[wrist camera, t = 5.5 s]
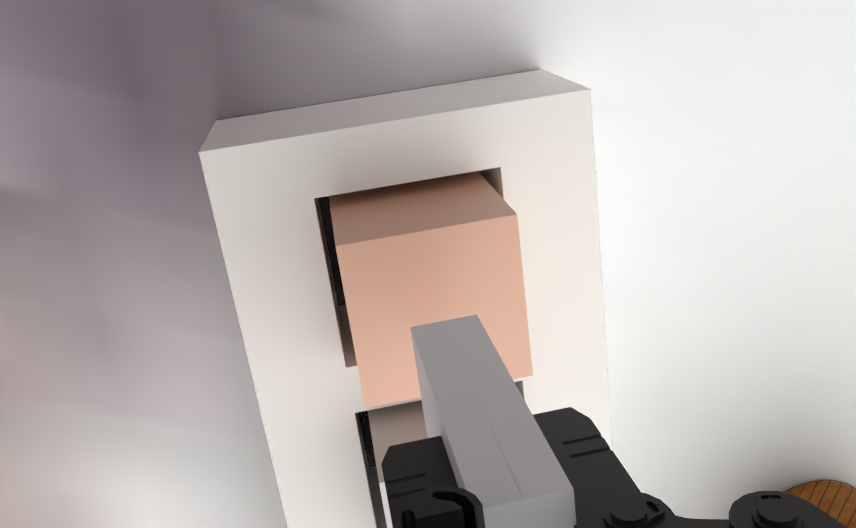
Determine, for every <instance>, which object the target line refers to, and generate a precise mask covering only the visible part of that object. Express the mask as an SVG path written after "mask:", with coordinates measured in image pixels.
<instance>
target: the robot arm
mask: <svg viewBox="0 0 856 528" xmlns="http://www.w3.org/2000/svg"><path fill="white" fill-rule="evenodd" d="M410 329H411V336H412V342H413V349H414V355H415V361H416V368H417V374H418V381H419V387H420V393H421V400H422V406H423V413H424V419H425V425H426V432H427V436H428V438H426V439H422V440H417V441H412V442H407V443H402V444H397V445H393V446H389V448H388V450H387V452H386V454H385V457H384V459H383V461H382V463H381V466H382V472H383V477H384V483H385V488H386V494H387V499H388V504H389V510H390V515H391V521H392V526H393V528H848V527H846V526H845V525H843V524H842V523H840V522H839V521H837V520H836V519H834V518H833V517H831V516H830V515H828V514H827V513H825V512H824V511H822V510H821V509H819V508H818V507H816V506H815V505H813V504H812V503H810V502H808V501H806V500H804V499H802V498H800V497H798V496H796V495H791V494H787V493H783V492H778V491H758V492H754V493H750V494H747V495H744V496H742V497H741V498H739V499H738V500H736V501H735V502H733V504H732V507H731V509H730V511H729V520H720V519H691V518H683V517H679V516H675V515H674V513H673V512H672V510H671V509H670V508H669V507H668V506H667V505H666V504H664V503H663V502H662V501H661V500H660V499H657V498H655V497H653V496H651V495H648V494H646V493H641V492H640V490H639V489H638V488H637V486H636V485H635V483H634V482H633V480H632V479H631V477H630V476H629V474H628V473H627V471H626V470H625V468H624V467H623V466H622V464H621V463H620V461H619V460H618V458H617V457H616V455H615V454H614V452H613V451H612V450H610V446H609V445H608V444H607V442H606V441H605V439H604V438H603V437H602V436H601V433H600V432H599V430H598V429H597V427H596V426H595V424H594V423H593V421H592V420H591V419H590V418H589V417H587V416H585V415H584V414H582V413H580V412H579V411H577V410H575V409H573V408H572V407H568V408H563V409H558V410H553V411H548V412H543V413H538V414H534V415H532V413H531V411H530V410H529V408H528V406H527V404H526V402H525V401H524V399H523V397H522V395H521V393H520V392H519V390H518V388H517V386H516V384H515V383H514V381H513V379H512V377H511V375H510V374H509V372H508V370H507V368H506V366H505V365H504V363H503V361H502V359H501V357H500V356H499V354H498V352H497V350H496V348H495V346H494V345H493V343H492V341H491V339H490V337H489V336H488V334H487V332H486V330H485V328H484V327H483V325H482V323H481V321H480V319H479V318H478V316H477V314H476V315H471V316H466V317H461V318H456V319H450V320H445V321H440V322H435V323H429V324H424V325H419V326H414V327H410Z"/></svg>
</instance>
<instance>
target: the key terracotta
mask: <svg viewBox="0 0 856 528" xmlns="http://www.w3.org/2000/svg"><path fill="white" fill-rule="evenodd" d="M329 203H330V210H331V218H332V225H333V232H334V240H335V247H336V252H337V258H338V263H339V268H340V274H341V279H342V285H343V290H344V296H345V301H346V306H347V312H348V317H349V323H350V328H351V334H352V339H353V345H354V350H355V355H356V361H357V366H358V372H359V377H360V383H361V388H362V393H363V399H364V404H365V408H368V407H373V406H379V405H384V404H389V403H394V402H399V401H404V400H410V399H415V398H420V397H421V393H420V387H419V381H418V374H417V368H416V361H415V355H414V349H413V342H412V336H411V329H410V327H414V326H419V325H424V324H429V323H435V322H440V321H445V320H450V319H456V318H461V317H466V316H471V315H476V314H477V316H478V318H479V319H480V321H481V323H482V325H483V327H484V328H485V330H486V332H487V334H488V336H489V337H490V339H491V341H492V343H493V345H494V346H495V348H496V350H497V352H498V354H499V356H500V357H501V359H502V361H503V363H504V365H505V366H506V368H507V370H508V372H509V374H510V375H511V377H512V379H518V378H523V377H528V376H533V370H532V360H531V350H530V340H529V329H528V319H527V309H526V299H525V289H524V278H523V268H522V258H521V248H520V237H519V227H518V217H517V214H516V213H515V211H514V210H513V209H512V208H511V207H510V206H509V205H508V204H507V203H506V201H505V200H504V199H503V198H502V197H501V196H500V195H499V194H498V193H497V191H496V190H495V189H494V188H493V187H492V186H491V185H490V184H489V183H488V182H487V180H486V179H485V178H484V177H483V176H482V175H481V174H480V173H479V172H478V171H474V172H468V173H462V174H456V175H450V176H444V177H438V178H432V179H426V180H420V181H414V182H408V183H403V184H397V185H391V186H385V187H379V188H373V189H367V190H361V191H355V192H349V193H343V194H337V195H331V196H329Z"/></svg>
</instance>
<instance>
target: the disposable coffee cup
mask: <svg viewBox="0 0 856 528" xmlns="http://www.w3.org/2000/svg"><path fill="white" fill-rule="evenodd" d="M785 493H787V494H791V495H796V496H798V497H800V498H802V499H804V500H806V501H808V502H810V503H812V504H813V505H815V506H816V507H818V508H819V509H821V510H822V511H824V512H825V513H827V514H828V515H830V516H831V517H833V518H834V519H836V520H837V521H839V522H840V523H842V524H843V525H845V526H846V527H848V528H856V488H855V487H853V486H851V485H850V484H846V483H842V482H838V481H831V480H823V481H815V482H809V483H806V484H803V485H800V486H797V487H794V488H792V489H790V490H788V491H786V492H785Z"/></svg>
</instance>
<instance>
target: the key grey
mask: <svg viewBox="0 0 856 528" xmlns="http://www.w3.org/2000/svg"><path fill="white" fill-rule="evenodd" d="M368 417H369V423H370V430H371V436H372V442H373V448H374V455H375V461H376V467H377V474H378V480H379V486H380V491H381V497H382V502H383V508H384V513H385V518H386V524H387V528H393V526H392V521H391V515H390V510H389V504H388V499H387V494H386V488H385V483H384V477H383V472H382V466H381V463H382V461H383V459H384V457H385V454H386V452H387V450H388V448H389V446H393V445H397V444H402V443H407V442H412V441H417V440H422V439H426V438H428V436H427V432H426V425H425V419H424V413H423V406H422V400H419V401H414V402H409V403H404V404H399V405H393V406H388V407H383V408H378V409H373V410H368Z"/></svg>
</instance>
